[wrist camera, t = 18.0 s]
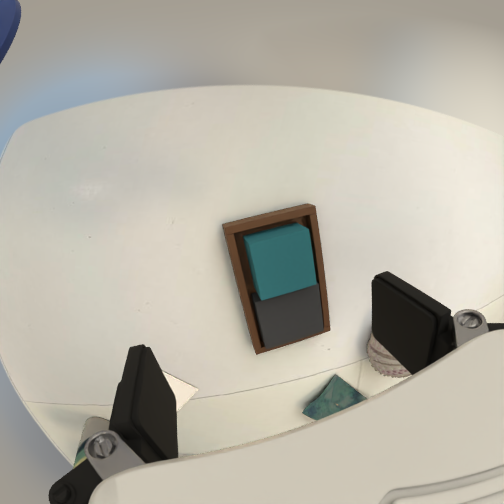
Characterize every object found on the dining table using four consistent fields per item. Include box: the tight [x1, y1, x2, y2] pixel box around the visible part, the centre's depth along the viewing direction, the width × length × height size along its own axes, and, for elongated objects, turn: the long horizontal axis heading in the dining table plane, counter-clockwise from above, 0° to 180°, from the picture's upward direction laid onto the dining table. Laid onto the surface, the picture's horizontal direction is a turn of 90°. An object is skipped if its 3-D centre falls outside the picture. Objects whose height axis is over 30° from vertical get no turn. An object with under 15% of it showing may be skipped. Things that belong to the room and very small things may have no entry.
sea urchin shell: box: [367, 333, 412, 378], centre depth 35 cm, size 13×14×8 cm
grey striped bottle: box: [73, 417, 110, 469], centre depth 25 cm, size 6×6×20 cm
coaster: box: [162, 371, 198, 411], centre depth 33 cm, size 8×8×1 cm
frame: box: [222, 204, 330, 354], centre depth 32 cm, size 16×10×2 cm, turn 12°
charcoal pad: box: [251, 282, 324, 349], centre depth 32 cm, size 6×7×2 cm
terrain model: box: [302, 375, 366, 420], centre depth 40 cm, size 13×8×2 cm, turn 44°
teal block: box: [243, 222, 317, 300], centre depth 29 cm, size 6×6×4 cm
